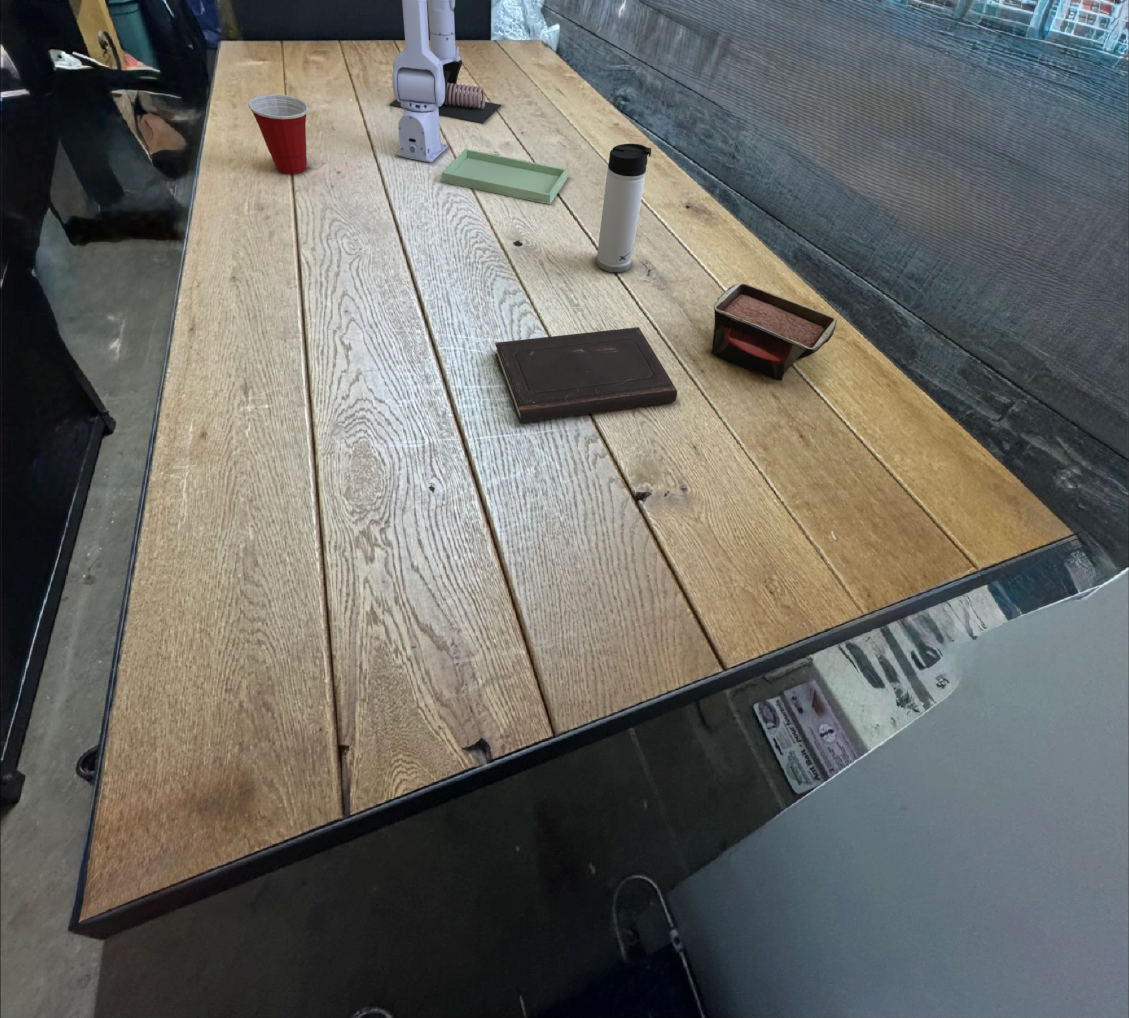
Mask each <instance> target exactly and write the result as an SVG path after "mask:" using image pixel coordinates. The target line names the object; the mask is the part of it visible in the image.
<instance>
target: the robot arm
mask: <svg viewBox="0 0 1129 1018" xmlns="http://www.w3.org/2000/svg"><path fill="white" fill-rule="evenodd" d="M401 2H402V17H403V30H404V43H405V47H404V48H403V50H401V51H400V52H399V53H398V54H396V56H395V57H394V58H393V62H392V91H393V96H394V98H395V100H396V99H397V101H398V102H401V107H404V108H403V112H402V115H401V117H400V119H399V120H398V126H397V127H398V136H399V137H398V138H399V146H400V147H399V148H400V150H399V151H398V152H397V154H396V155H397V156H398V157H400V158H401V157H402V158H407V159H411V160H414V161H420V162H425V163H433V162H434V161H435V160H436V159H437V158H438V157H439V156H440V155H441V154H442V153H444V151H446V150H447V148H448V147H449V146H448V144H446V143H443V142H441V127H440V115H439V110H438V107H439V106H441V105H442V104H443V103H445V102H446V95H447V83H450V84H451V83H453V84H458V77H459V73H460V70H461V68H462V66H463V60H461V56H460V47H459V46H456V30H455V27H456V26H455V7H456V0H401ZM448 89H449V88H448ZM452 90H453V88H452Z"/></svg>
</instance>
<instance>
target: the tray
mask: <svg viewBox="0 0 1129 1018" xmlns="http://www.w3.org/2000/svg"><path fill="white" fill-rule="evenodd" d="M568 173H569V168H563V167H558V166H552V165H547V164H542V163H537V162H534V161H533V162H532V161H527V160H523V159H517V158H513V157H508V156H503V155H498V154H493V153H488V152H483V151H478V150H473V149H468V148H465V149H464V150H462V152H460V154H458V156H457V157H456V158H454V160H453V161H452V162H450V163H449V165H448V166H447V167H446V168H445V169H443V171H442V172H441V182H442V183H445V184H448V185H449V184H450V185H455V186H459V187H463V188H468V189H473V190H474V189H475V190H478V191H484V192H488V193H492V194H497V195H503V196H507V197H512V198H517V199H521V200H528V201H532V202H536V203H540V204H546V205H551V203H552V202H553V201H554V199H555V198H556V196H558V195H557V194H558V193H559V192H560V191H561V189H562V188H563V186H564V184H565V183H566V182H567V180H568V176H569V174H568Z"/></svg>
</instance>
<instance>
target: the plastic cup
mask: <svg viewBox="0 0 1129 1018" xmlns="http://www.w3.org/2000/svg"><path fill="white" fill-rule="evenodd" d="M247 106H248V108H249V109H250V111H251V113H252V114H253V116H254V118H255V121H256V123H257V125H258V127H259V130H260V132H261V135H262V138H263V139H264V140H263V141H264V142H265V145H266V147H267V151H268V152H269V154H270V157H271V158H272V161H273V163H274V166H275V167H276V169H277V171H278V172H280V173H282V174H286V175H297V174H300V173H303V172H305V171H306V170H307V164H308V161H307V128H306V127H307V126H306V123H307V114H309V104H308V103H307V102H306V101H304V100H303V99H300V98H298V97H297V96H296V97H295V96H292V95H287V94H279V93H269V94H267V93H265V94H264V93H263V94H259V95H256V96H253V97H252V98H250V99H249V100H248V102H247Z"/></svg>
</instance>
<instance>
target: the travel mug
mask: <svg viewBox="0 0 1129 1018" xmlns="http://www.w3.org/2000/svg"><path fill="white" fill-rule="evenodd" d="M651 156H652V148H651V147H647V146H646V145H643V144H640V143H622V144H621V143H620V144H618V145H617V144H616V145H615V146H613V147H612V149H611V150H610V151H609V158H608V164H607V171H606V180H605V187H604V195H603V204H602V210H601V211H602V212H601V219H600V228H599V237H598V244H597V253H596V259H595V260H596V264H597V266H598V267H599V268H600V269H602V270H603V271H605V272H608V273H623V272H625V271H628V270H629V269H630V268H631V266H632V258H633V253H634V247H635V241H636V235H637V229H638V223H639V216H640V211H641V206H642V205H641V204H642V199H643V193H644V187H645V180H646V174H647V165H648V157H651Z"/></svg>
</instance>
